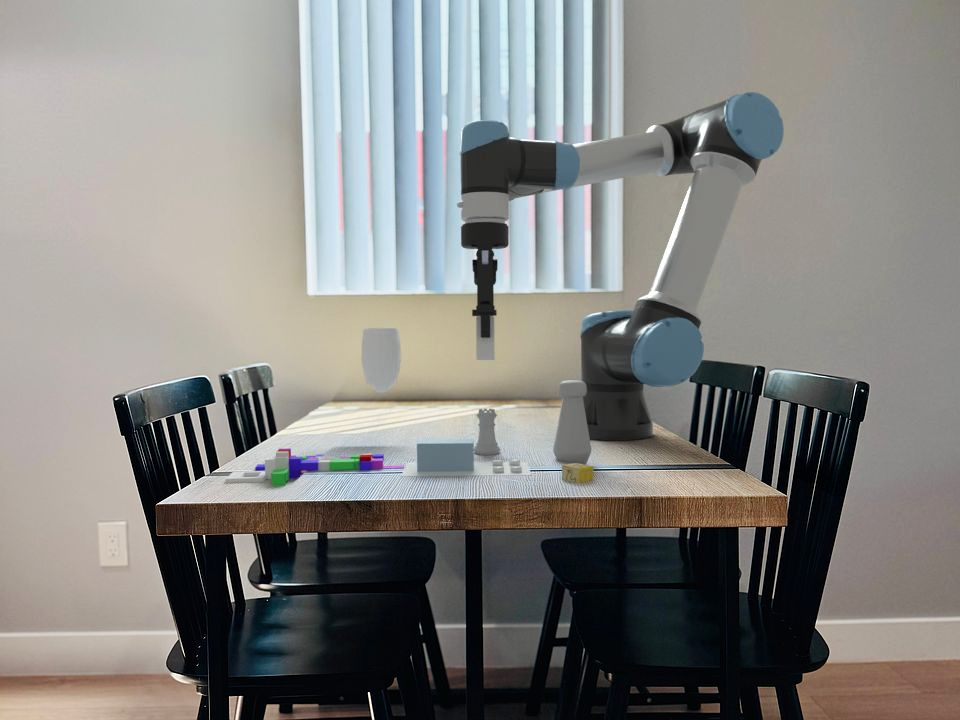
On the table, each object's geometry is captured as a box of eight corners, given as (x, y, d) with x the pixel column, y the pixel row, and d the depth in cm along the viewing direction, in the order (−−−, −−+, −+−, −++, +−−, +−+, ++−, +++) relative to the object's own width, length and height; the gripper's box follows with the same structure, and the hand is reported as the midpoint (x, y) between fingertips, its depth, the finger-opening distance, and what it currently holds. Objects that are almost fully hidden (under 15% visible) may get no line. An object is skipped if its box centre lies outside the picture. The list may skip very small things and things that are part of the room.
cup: (366, 438, 150) (364, 327, 149) (404, 438, 150) (403, 327, 149) (359, 444, 143) (357, 328, 142) (399, 444, 143) (397, 328, 142)
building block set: (404, 459, 132) (403, 432, 132) (405, 485, 112) (405, 454, 112) (248, 463, 130) (248, 435, 129) (221, 491, 109) (220, 458, 109)
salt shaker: (578, 470, 119) (578, 382, 118) (546, 466, 122) (545, 381, 121) (598, 464, 123) (598, 380, 122) (566, 460, 127) (565, 378, 126)
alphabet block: (576, 484, 110) (576, 462, 110) (593, 487, 107) (593, 465, 107) (561, 487, 108) (561, 464, 108) (578, 491, 105) (578, 468, 105)
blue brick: (473, 465, 118) (473, 438, 117) (473, 471, 114) (473, 443, 113) (419, 466, 118) (419, 439, 117) (417, 471, 114) (416, 443, 113)
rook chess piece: (501, 461, 126) (500, 411, 126) (472, 461, 126) (472, 411, 126) (500, 456, 131) (500, 407, 130) (473, 456, 131) (473, 407, 130)
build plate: (527, 468, 121) (527, 457, 121) (531, 482, 111) (531, 470, 111) (407, 469, 121) (407, 458, 121) (401, 483, 111) (400, 471, 111)
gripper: (462, 231, 139) (463, 353, 140) (458, 213, 114) (459, 362, 115) (506, 230, 139) (506, 353, 140) (511, 212, 114) (511, 361, 115)
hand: (485, 357), depth 128 cm, fingers open, 13 cm apart
